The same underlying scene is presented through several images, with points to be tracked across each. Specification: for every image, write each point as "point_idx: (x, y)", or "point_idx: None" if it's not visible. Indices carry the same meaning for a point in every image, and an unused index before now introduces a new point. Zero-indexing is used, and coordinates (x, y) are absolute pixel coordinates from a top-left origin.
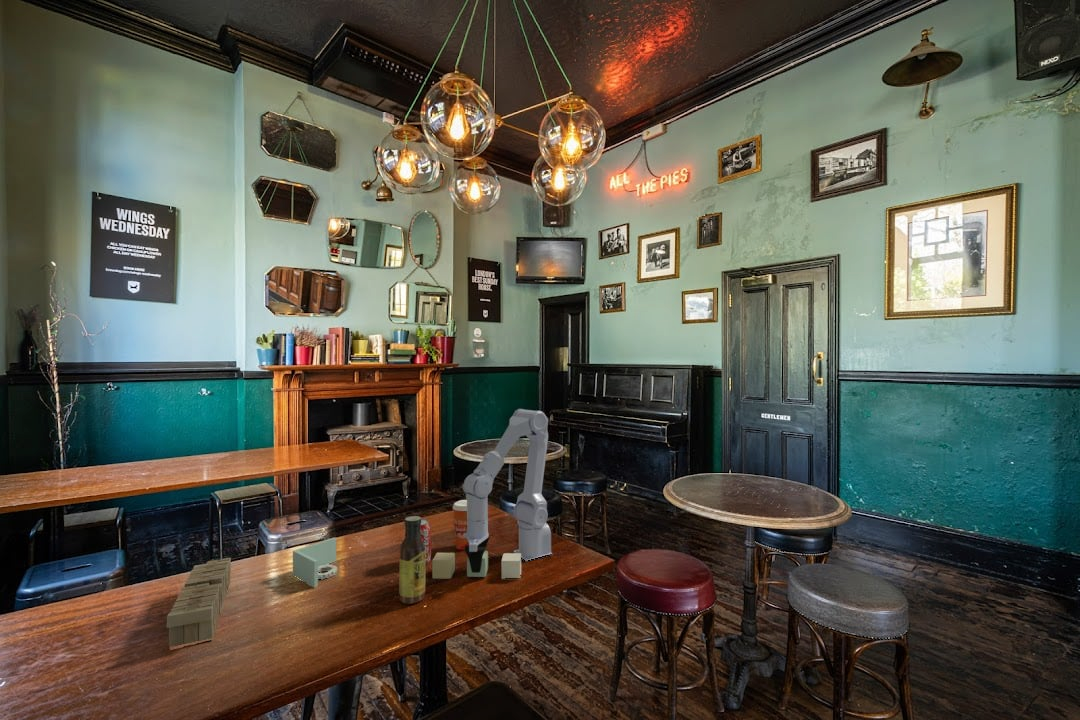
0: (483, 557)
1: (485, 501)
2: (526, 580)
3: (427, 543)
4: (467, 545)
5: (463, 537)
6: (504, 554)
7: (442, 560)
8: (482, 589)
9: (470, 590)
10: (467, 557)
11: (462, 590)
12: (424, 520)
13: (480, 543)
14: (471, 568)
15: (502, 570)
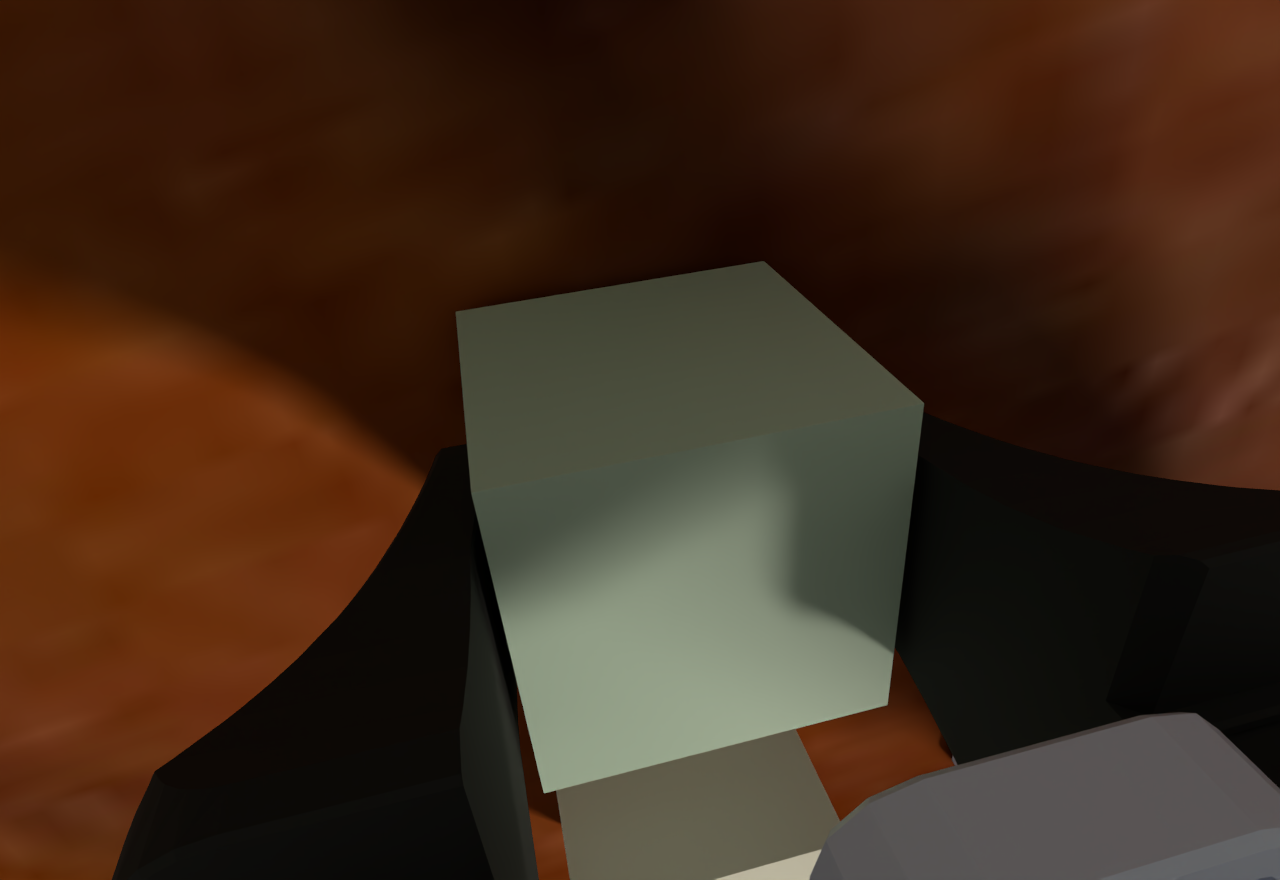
0: (582, 754)
1: None
2: (553, 874)
3: None
4: (465, 833)
5: (823, 852)
6: (806, 863)
7: None
8: (188, 614)
9: (77, 487)
10: (526, 483)
11: (10, 373)
12: None
13: (1005, 715)
14: (423, 486)
15: (557, 794)
